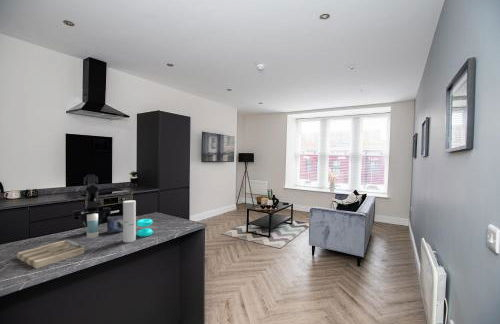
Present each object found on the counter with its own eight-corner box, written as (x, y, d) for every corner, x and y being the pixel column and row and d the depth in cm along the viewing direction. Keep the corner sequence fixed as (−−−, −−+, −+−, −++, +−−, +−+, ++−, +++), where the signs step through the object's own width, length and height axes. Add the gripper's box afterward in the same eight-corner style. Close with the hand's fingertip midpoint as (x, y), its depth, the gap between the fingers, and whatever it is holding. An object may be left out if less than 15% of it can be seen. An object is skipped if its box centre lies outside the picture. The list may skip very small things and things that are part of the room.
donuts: (155, 219, 166) (143, 223, 157) (155, 233, 166) (143, 238, 157) (145, 217, 170) (133, 221, 161) (145, 231, 171) (133, 235, 162)
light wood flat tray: (17, 258, 125) (17, 252, 125) (64, 245, 143) (64, 240, 143) (36, 268, 114) (36, 262, 114) (84, 253, 132) (84, 247, 132)
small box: (106, 234, 164) (106, 218, 164) (107, 231, 170) (107, 216, 170) (124, 232, 169) (124, 217, 169) (124, 229, 175) (124, 215, 175)
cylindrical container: (126, 238, 156) (126, 200, 155) (137, 238, 157) (137, 200, 156) (121, 242, 149) (121, 202, 148) (133, 242, 150) (133, 202, 149)
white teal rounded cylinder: (84, 237, 138) (84, 214, 138) (95, 234, 143) (94, 212, 142) (90, 239, 135) (90, 216, 135) (100, 236, 140) (100, 214, 140)
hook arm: (64, 242, 140) (64, 239, 140) (67, 241, 141) (67, 239, 141) (77, 247, 133) (77, 244, 133) (80, 246, 134) (80, 243, 134)
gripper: (72, 197, 136) (71, 220, 128) (110, 194, 147) (112, 216, 138) (73, 208, 143) (72, 231, 134) (109, 204, 154) (111, 226, 145)
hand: (92, 226), depth 138 cm, fingers closed on white teal rounded cylinder, 6 cm apart
